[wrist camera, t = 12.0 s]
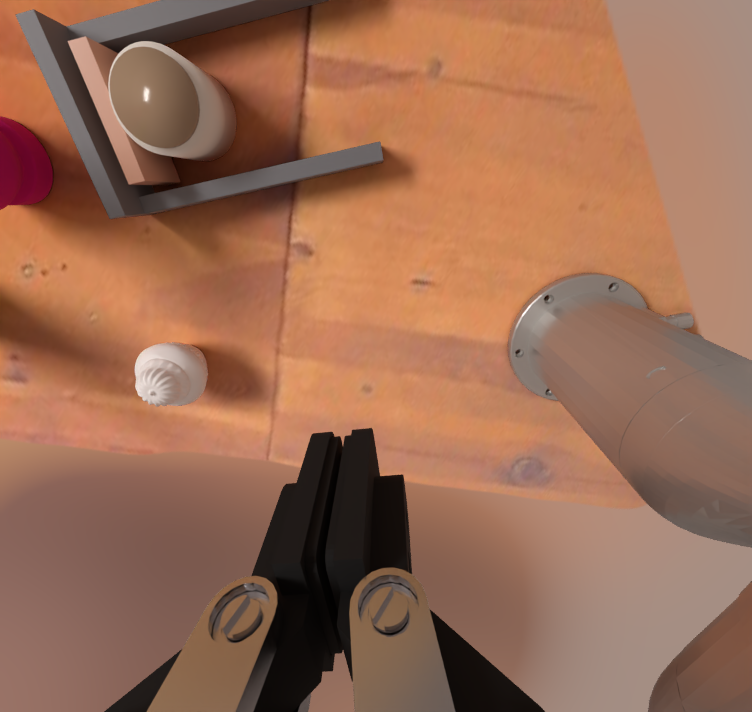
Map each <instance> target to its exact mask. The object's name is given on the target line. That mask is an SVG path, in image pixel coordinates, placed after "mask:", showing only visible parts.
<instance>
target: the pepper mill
mask: <svg viewBox="0 0 752 712" xmlns="http://www.w3.org/2000/svg"><path fill="white" fill-rule="evenodd" d="M52 183H53V170H52V166H51V162H50V159H49V157H48V155H47V153H46V151H45V149H44V147H43V146H42V145H41V143H40V142H39V141H38V139H37V138H36V137H35V136H34V135H33V134H32V133H31V132H30V131H29V130H27V129H26V128H25V127H24V126H22V125H21V124H19V123H17V122H15V121H13V120H11V119H8V118H5V117H0V210H1V209H3V208H5V207H6V206H7V205H30V204H34V203H37V202H39V201H41V200H43V199H44V198H45V197H46V196H47V195H48V193H49V192H50V189H51V186H52Z"/></svg>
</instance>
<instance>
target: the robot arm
mask: <svg viewBox="0 0 752 712" xmlns="http://www.w3.org/2000/svg"><path fill="white" fill-rule="evenodd" d="M609 285H610V286H609ZM546 295H547V298H546V299H544V298H545V296H546ZM693 323H694V320H693V317H692V315H691V314H690V313H680V314H674V315H670V316H667V317H665V316H662V315H660V314H658V313H655V312H653V311H651V310H649V309H648V307H647V304H646V302H645V301H644V299H643V297H642V296H641V294H640V293H639V292H638V291H637V290H636V289H635V288H634V287H633V286H631V285H630V284H628V283H626V282H625V281H623V280H621V279H618V278H616V277H613V276H610V275H605V274H600V273H581V274H575V275H570V276H567V277H564V278H562V279H559V280H556V281H554V282H553V283H551V284H549V285H547V286H546V287H544V288H542V289H541V290H540V291H539V292H537V293H536V294H535V295H534V296H532V297H531V298H530V300H529V301H528V302H527V303H526V304H525V305H524V306H523V307H522V309H521V310H520V312H519V314H518V315H517V317H516V318H515V320H514V323H513V325H512V328H511V330H510V334H509V339H508V357H509V361H510V365H511V367H512V369H513V371H514V373H515V375H516V376H517V377H518V379H519V380H520V382H521V383H522V384H523V385H524V386H525V387H526V388H527V389H528V390H530V391H531V392H533V393H535V394H536V395H538V396H541V397H543V398H546V399H550V400H556V401H559V402H560V403H561V404H562V405H563V406H564V407H565V409H566V410H567V411H568V412H569V413H570V414H571V416H572V417H573V418H574V419H575V420H576V421H577V423H578V424H579V425H580V426H581V427H582V428H583V430H584V431H585V432H586V433H587V434H588V435H589V437H590V438H591V439H592V440H593V441H594V443H595V444H596V445H597V446H598V447H599V448H600V450H601V451H602V452H603V453H604V454H605V455H606V457H607V458H608V459H609V460H610V461H611V462H612V464H613V465H614V466H615V467H616V468H617V469H618V471H619V472H620V473H621V474H622V475H623V477H624V478H625V479H626V480H627V481H628V483H629V484H630V485H631V486H632V487H633V488H634V490H635V491H636V492H637V493H638V494H639V495H640V496H641V498H642V499H643V500H644V501H645V502H646V503H647V504H648V505H649V506H650V507H651V508H653V509H654V510H655V511H656V512H657V513H658V514H660V515H661V516H662V517H664V518H665V519H667V520H668V521H670V522H672V523H673V524H675V525H677V526H678V527H680V528H683V529H685V530H687V531H690V532H692V533H694V534H697V535H700V536H703V537H707V538H710V539H714V540H718V541H722V542H726V543H731V544H736V545H740V546H746V547H751V548H752V361H751V360H749V359H747V358H745V357H742V356H740V355H738V354H736V353H734V352H731V351H729V350H727V349H725V348H723V347H720V346H718V345H716V344H714V343H712V342H710V341H707V340H705V339H704V338H703V337H702V336H701V335H699V334H692V333H690V332H688V331H685V330H683V329H688V328H691V327H692V326H693ZM518 349H519V350H518ZM516 350H518V351H517V352H516ZM342 650H344V654H345V657H346V661H347V665H348V668H349V672H350V676H351V679H352V681H353V691H354V707H355V708H354V709H355V712H545V711H544V710H543V709H542V708H541V707H540V706H539V705H538V704H537V703H536V702H534V701H533V700H532V699H531V698H530V697H529V696H528V695H526V694H525V693H524V692H523V691H522V690H521V689H520V688H519V687H517V686H516V685H515V684H514V683H513V682H512V681H511V680H509V679H508V678H507V677H506V676H505V675H504V674H503V673H502V672H500V671H499V670H498V669H497V668H496V667H495V666H494V665H492V664H491V663H490V662H489V661H488V660H487V659H486V658H484V657H483V656H482V655H481V654H480V653H479V652H478V651H477V650H475V649H474V648H473V647H472V646H471V645H470V644H469V643H467V642H466V641H465V640H464V639H463V638H462V637H461V636H460V635H458V634H457V633H456V632H455V631H454V630H452V628H450V627H449V626H448V625H447V624H446V623H445V622H444V621H442V620H441V619H440V618H439V617H438V616H437V615H436V614H435V613H433V612H432V611H431V610H430V609H429V605H428V601H427V597H426V594H425V591H424V589H423V587H422V585H421V583H420V582H419V581H418V580H417V579H416V578H415V576H413V575H412V568H411V553H410V536H409V522H408V511H407V501H406V493H405V484H404V477H403V475H391V476H380V473H379V466H378V460H377V453H376V447H375V441H374V434H373V430H372V428H369V429H358V430H352V434H351V435H350V436H345V439H344V445H342V441H341V437H340V436H338V437H334V434H333V432H325V433H314V434H312V436H311V438H310V442H309V445H308V448H307V451H306V454H305V458H304V461H303V464H302V467H301V470H300V474H299V477H298V480H297V483H292V484H286V485H285V486H284V487H283V489H282V491H281V495H280V497H279V500H278V503H277V505H276V509H275V511H274V514H273V517H272V520H271V522H270V526H269V528H268V531H267V534H266V537H265V539H264V542H263V545H262V548H261V551H260V554H259V557H258V559H257V562H256V565H255V568H254V571H253V573H252V576H247V577H244V578H241V579H238V580H235V581H234V582H232V583H230V584H229V585H227V586H225V587H224V588H223V589H222V590H221V591H220V592H219V593H218V594H217V595H215V596H214V598H213V599H212V601H211V602H210V603H209V604H208V606H207V607H206V609H205V611H204V612H203V614H202V616H201V618H200V619H199V621H198V623H197V625H196V626H195V628H194V630H193V632H192V633H191V635H190V637H189V639H188V640H187V642H186V644H185V646H184V647H183V649H182V650H180V651H179V652H178V653H177V654H176V655H174V656H173V657H172V658H171V659H169V660H168V661H167V662H166V663H164V664H163V665H162V666H161V667H160V668H158V669H157V670H156V671H154V672H153V673H152V674H151V675H149V676H148V677H147V678H146V679H144V680H143V681H142V682H141V683H140V684H138V685H137V686H136V687H134V688H133V689H132V690H131V691H129V692H128V693H127V694H126V695H125V696H123V697H122V698H121V699H120V700H118V701H117V702H116V703H115V704H113V705H112V706H111V707H109V708H108V709H107V710H106V711H105V712H308V710H309V704H310V697H311V692H312V691H313V690H314V689H315V688H316V687H317V686H318V684H319V683H320V682H321V678H322V672H323V671H333V665H334V664H333V663H334V656H335V653H342ZM648 712H752V581H751V582H750V584H749V585H748V586H747V587H746V588H745V589H744V590H743V591H742V592H741V593H740V594H739V597H738V598H737V599H736V600H735V601H734V602H733V603H732V604H731V605H730V606H728V607H727V608H726V609H725V610H724V611H723V612H722V613H721V614H720V615H719V616H718V617H717V618H716V619H715V620H713V622H711V623H710V624H709V625H708V626H707V627H706V628H705V629H704V630H703V631H702V632H701V633H700V634H698V635H697V636H696V637H695V638H694V639H693V640H692V641H691V642H690V643H689V644H688V645H687V646H686V647H685V648H684V649H683V650H682V651H681V652H680V653H679V654H678V655H677V656H676V657H675V658H674V659H673V660H672V662H671V663H670V664H669V665H668V666H667V668H666V669H665V670H664V671H663V672H662V674H661V675H660V677H659V678H658V680H657V682H656V684H655V686H654V688H653V691H652V694H651V697H650V700H649V708H648Z"/></svg>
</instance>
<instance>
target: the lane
mask: <svg viewBox="0 0 752 712" xmlns="http://www.w3.org/2000/svg"><path fill="white" fill-rule="evenodd" d="M325 1H329V0H160V1H156V2H153V3H149V4H146V5H142V6H138V7H135V8H131V9H128V10H124V11H121V12H117V13H113V14H110V15H106V16H103V17H99V18H96V19H92V20H88V21H85V22H81V23H78V24H74V25H70V26H67V27H66V26H64V25H62V24H60V23H58V22H57V21H55V20H53V19H51V18H49V17H47V16H45V15H43V14H41V13H39V12H37V11H36V10H34V9H33V10H30V11H26V12H23V13H19V14H16V17H17V19H18V22H19V24H20V26H21V28H22V30H23V32H24V35H25V37H26V39H27V41H28V43H29V45H30V48H31V50H32V52H33V54H34V56H35V58H36V60H37V63H38V65H39V67H40V69H41V71H42V73H43V76H44V78H45V80H46V82H47V84H48V86H49V89H50V91H51V93H52V95H53V97H54V99H55V102H56V104H57V106H58V108H59V110H60V112H61V115H62V117H63V119H64V121H65V123H66V125H67V128H68V130H69V132H70V134H71V136H72V138H73V141H74V143H75V145H76V147H77V149H78V151H79V153H80V156H81V158H82V160H83V162H84V164H85V166H86V169H87V171H88V173H89V175H90V177H91V179H92V182H93V184H94V186H95V188H96V190H97V192H98V195H99V197H100V199H101V201H102V203H103V205H104V208H105V210H106V212H107V214H108V216H109V218H110V219H115V218H125V217H134V216H144V215H151V214H156V213H160V212H165V211H169V210H174V209H178V208H182V207H187V206H191V205H196V204H200V203H205V202H209V201H214V200H218V199H222V198H227V197H231V196H236V195H240V194H245V193H249V192H254V191H258V190H262V189H267V188H271V187H276V186H280V185H285V184H289V183H293V182H298V181H302V180H307V179H311V178H316V177H320V176H325V175H329V174H333V173H338V172H342V171H347V170H351V169H356V168H360V167H365V166H369V165H373V164H378V163H382V162H383V154H382V149H381V143H380V142H376V143H371V144H367V145H363V146H358V147H354V148H350V149H345V150H341V151H337V152H332V153H328V154H323V155H319V156H315V157H310V158H306V159H302V160H297V161H293V162H289V163H284V164H280V165H276V166H271V167H267V168H263V169H258V170H254V171H250V172H245V173H241V174H237V175H232V176H228V177H224V178H219V179H215V180H211V181H206V182H202V183H198V184H193V185H189V186H185V187H180V188H176V189H172V190H167V191H163V192H159V193H155V192H154V189H153V187H152V185H129V184H128V181H127V179H126V177H125V174H124V172H123V170H122V167H121V165H120V163H119V160H118V158H117V156H116V153H115V151H114V149H113V146H112V144H111V142H110V139H109V137H108V135H107V132H106V130H105V128H104V125H103V123H102V121H101V118H100V116H99V114H98V111H97V109H96V107H95V104H94V102H93V100H92V97H91V95H90V93H89V90H88V88H87V86H86V83H85V81H84V79H83V76H82V74H81V72H80V69H79V67H78V64H77V62H76V60H75V57H74V55H73V53H72V50H71V48H70V46H69V43H68V41H70V40H74V39H78V38H81V37H85V36H86V37H88V38H90V39H92V40H94V41H96V42H98V43H99V44H101V45H103V46H105V47H107V48H109V49H111V50H113V51H115V52H117V53H118V54H119V53H120V52H121V51H122V50H123V49H124V48H125V47H127V46H129V45H130V44H133V43H136V42H141V41H151V42H156V43H160V44H163V45H164V44H168V43H172V42H176V41H179V40H183V39H187V38H191V37H194V36H198V35H202V34H206V33H209V32H213V31H217V30H220V29H224V28H228V27H232V26H235V25H239V24H243V23H247V22H250V21H254V20H258V19H262V18H265V17H269V16H273V15H276V14H280V13H284V12H288V11H291V10H295V9H299V8H303V7H306V6H310V5H314V4H318V3H321V2H325Z"/></svg>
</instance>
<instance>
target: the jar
mask: <svg viewBox="0 0 752 712" xmlns="http://www.w3.org/2000/svg"><path fill="white" fill-rule="evenodd" d="M108 88H109V97H110V101H111V105H112V108H113V111H114V114H115V116H116V118H117V120H118V121H119V123H120V125H121V126H122V128H123V129H124V130H125V132H126V133H127V134H128V135H129V136H130V137H131V138H132V139H133V140H134V141H135V142H136V143H137V144H139V145H140V146H141V147H143V148H145V149H147V150H148V151H151V152H153V153H156V154H160V155H166V156H172V157H178V158H184V159H190V160H196V161H212V160H215V159H218V158H219V157H221V156H223V155H224V154H225V153H226V152H227V151H228V150H229V148H230V147H231V145H232V143H233V141H234V138H235V135H236V128H237V119H236V113H235V109H234V106H233V103H232V100H231V98H230V96H229V95H228V93H227V91H226V90H225V89H224V87H223V86H222V85H221V84H220V83H219V82H218V81H217V80H216V79H215V78H213V77H212V76H211V75H209V74H208V73H206V72H205V71H203V70H202V69H200V68H199V67H197V66H196V65H194V64H193V63H191V62H190V61H189V60H187V59H186V58H184V57H183V56H181V55H180V54H178V53H177V52H175V51H174V50H172V49H171V48H169V47H167V46H165V45H163V44H160V43H156V42H151V41H141V42H136V43H133V44H130V45H129V46H127V47H125V48H124V49H123V50H122V51H121V52H120V53H119V54H118V55H117V56H116V58H115V60H114V62H113V64H112V66H111V69H110V74H109V82H108Z"/></svg>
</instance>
